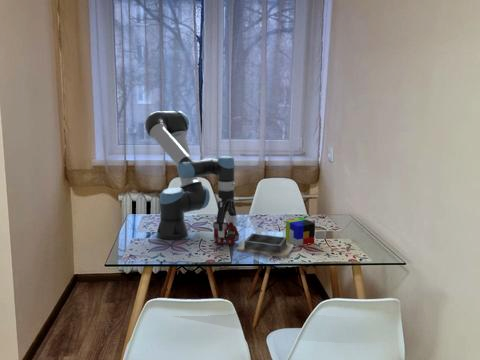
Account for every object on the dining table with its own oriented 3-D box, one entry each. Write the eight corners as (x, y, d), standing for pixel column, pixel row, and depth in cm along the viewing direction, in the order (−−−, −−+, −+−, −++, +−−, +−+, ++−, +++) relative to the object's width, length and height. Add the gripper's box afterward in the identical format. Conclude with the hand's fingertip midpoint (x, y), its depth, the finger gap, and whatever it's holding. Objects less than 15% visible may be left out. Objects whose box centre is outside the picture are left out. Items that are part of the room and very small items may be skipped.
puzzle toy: (297, 246, 211) (297, 226, 209) (285, 239, 220) (286, 220, 218) (314, 243, 216) (315, 223, 213) (302, 236, 224) (303, 217, 222)
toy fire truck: (237, 246, 210) (237, 225, 208) (211, 244, 211) (211, 223, 209) (239, 241, 217) (239, 220, 214) (214, 239, 218) (214, 219, 216)
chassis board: (236, 250, 205) (236, 241, 204) (245, 240, 218) (245, 231, 217) (287, 257, 197) (287, 247, 196) (294, 246, 210) (294, 237, 209)
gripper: (224, 195, 196) (224, 241, 200) (242, 184, 219) (242, 226, 223) (208, 194, 198) (209, 240, 202) (227, 183, 221) (228, 224, 225)
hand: (226, 232), depth 213 cm, fingers open, 13 cm apart
